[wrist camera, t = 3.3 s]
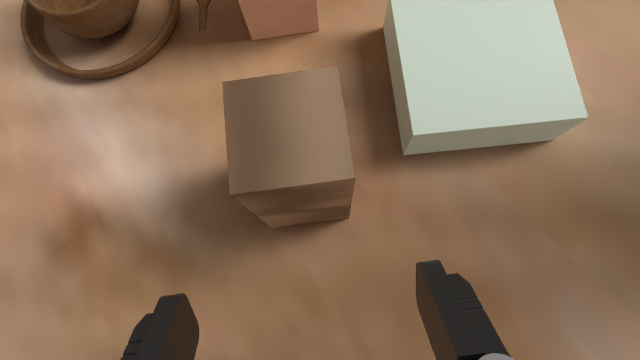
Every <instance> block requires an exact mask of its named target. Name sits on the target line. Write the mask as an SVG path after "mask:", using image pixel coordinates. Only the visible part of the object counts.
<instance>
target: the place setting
mask: <svg viewBox="0 0 640 360" xmlns="http://www.w3.org/2000/svg"><path fill="white" fill-rule="evenodd" d="M198 1H199V4H200V23H199V30H200V31H203V30H205V29H206V12H207V6H208V3H209V2H210V0H198ZM138 3H139V0H24V2H23V6H22V11H21V28H22V33H23V36H24V39H25V42H26V43H27V45H28V47H29V49H30V50H31V51H32V52H33V54H34V55H35V56H36V57H37V58H38V59H40V60H41V61H42V62H43V63H45V64H46V65H48V66H49V67H51V68H53V69H54V70H57V71H59V72H61V73H63V74H66V75H70V76H73V77H79V78H86V79H99V78H108V77H112V76H117V75H120V74H123V73H126V72H128V71H131V70H133V69H135V68H137V67H138V66H140V65H142V64H143V63H145V62H146V61H148V60H149V59H150V58H152V57H153V56H154V55H155V54H156V53H157V52H158V51H159V50H160V49H161V48H162V47H163V46H164V44H165V43H166V42H167V40H168V39H169V37H170V36H171V34H172V32H173V30H174V28H175V25H176V22H177V19H178V15H179V9H180V0H173V2H172V8H171V11H170V14H169V17H168V19H167V21H166V23H165V25H164V27H163V29H162V30H161V32H160V33H159V34H158V36H157V37H156V38H155V39H154V40H153V41H152V42H151V43H150V44H149V45H148V46H147V47H146V48H145V49H143V50H142V51H141V52H139V53H138V54H137V55H135V56H133V57H132V58H130V59H128V60H126V61H124V62H122V63H120V64H117V65H114V66H111V67H107V68H103V69H97V70H77V69H74V68H72V67H69V66H67V65H66V64H64V63H62V62H61V61H60V60H59V59H57V58H56V57H55V56H54V54H53V53H52V52H51V51H50V49H49V47H48V45H47V43H46V40H45V36H44V31H43V22H44V17H45V18H46V19H47V20H48V21H50V22H51V23H52V24H53V25H54V26H56V27H57V28H59V29H60V30H62V31H64V32H65V33H67V34H70V35H72V36H76V37H79V38H87V39H93V38H101V37H105V36H108V35H111V34H113V33H115V32H117V31H119V30H121V29H122V28H123V27H124V26H125V25H126V24H127V23H128V22H129V21H130V20H131V18H132V17H133V15H134V13H135V11H136V9H137V6H138Z"/></svg>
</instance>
